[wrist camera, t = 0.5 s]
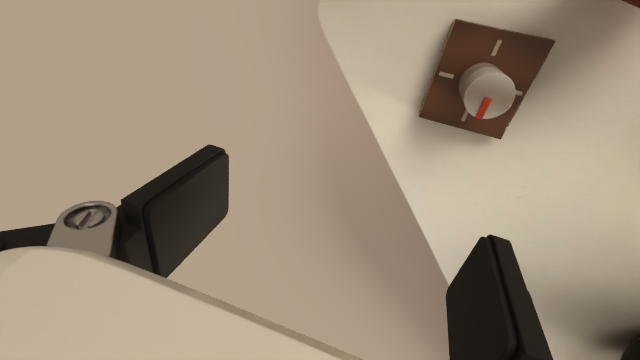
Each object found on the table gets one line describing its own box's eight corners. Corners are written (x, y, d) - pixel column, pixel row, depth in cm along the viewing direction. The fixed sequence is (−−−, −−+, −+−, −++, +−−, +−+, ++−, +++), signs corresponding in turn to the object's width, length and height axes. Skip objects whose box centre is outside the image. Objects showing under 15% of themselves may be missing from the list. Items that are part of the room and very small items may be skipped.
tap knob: (468, 58, 30) (476, 68, 25) (510, 68, 29) (526, 80, 24) (451, 97, 32) (456, 113, 27) (490, 107, 31) (501, 125, 27)
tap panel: (454, 18, 30) (455, 19, 29) (548, 38, 29) (556, 41, 27) (419, 111, 36) (418, 117, 34) (497, 133, 34) (501, 140, 32)
